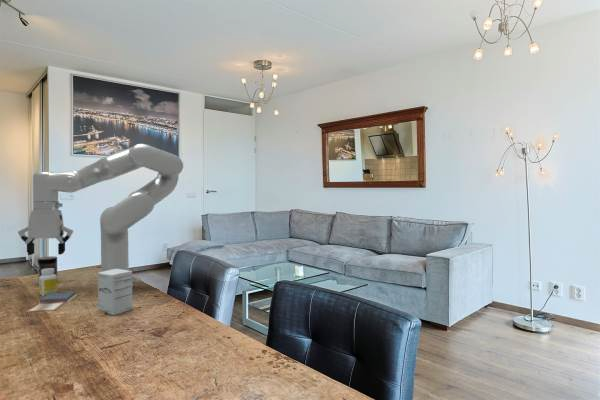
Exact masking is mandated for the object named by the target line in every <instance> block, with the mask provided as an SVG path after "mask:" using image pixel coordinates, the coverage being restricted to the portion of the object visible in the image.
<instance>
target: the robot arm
mask: <svg viewBox="0 0 600 400" xmlns="http://www.w3.org/2000/svg"><path fill="white" fill-rule="evenodd" d="M141 168H145V169H149V170H150V171H154V172H157V174H156V176H155V177H154V178H153V179H152V180H151V181H149V182H148V183H147V184H145V185H143V186H142V187H140V188H139V189H137V190H135V191H132V192H131V193H130V194H129V195H128V196H127V197H126V198H124V199H122V200H121V201H120V202H117V204H115V205H114V206H110V207H107V208H105V209H104V210H103V212H102V213H101V215H100V218H99V225H100V267H101V268H100V272H103V271H108V270H112V269H122V270H128V271H130V269H129V268H130V267H129V266H130V264H129V228H131V227H133V226H134V225H136V224H137V223H139V222H140V221H141V220H143V219H144V218H146V217H147V216H148V215H149V214H150V213H152V211H153V210H154V208H155V206H156V205H157V204H159V203H160V202H161V201H162V200H164V199H165V198H168V196H169V195H170V194H172V192H174V190H175V189H176V187H177V186H178V185H177V184H178V183H179V182H178V181H179V178H180V177H179V175H180V174H181V173H182V172H183V169H184V164H183V160H182V158H180V157H179V156H178V155H176V154H173V153H171V152H168V151H165V150H162V149H161V148H157V147H154V146H151V145H149V144H145V143H137V144H135V145H133V146H131V147H128V148H126V149H124V150H123V149H122V150H121V151H118V152H115V153H112V154H109V155H105V156H103V157H102V158H101V157H100V159H98V160H97V161H95V162H93V163H91V164H89V165H85V166H83V167H81V168H78V169H76V170H73V171H64V172H63V171H62V172H52V171H36V172H34V173H33V175H32V210H30V215H29V219H28V226H27V227H25V228H22V229H21V230H18V232H17V233H18V235H19V237H20V239H21V240H22V241H23V242H24V243H25V244H26V253H27V255H28V256H31V255H34V254H35V242H34V241H35V240H36V239H56V240H57V241H58V243H57V248H58V249H57V250H58V251H57V254H58V255H63V254H64V253H65V251H66V243H67V241H68V240H69V239H70V238H72V235H73V233H74V231H73V229H70V228H68V227H66V226H64V218H63V213H62V210H61V209H60V208H62V207H63V203H61V202H59V192H62V193H75V192H79V191H81V190H83V189H86V188H89V187H91V186H94V185H96V184H99V183H103V182H104V181H108V180H112V179H113V180H114V179H115V178H119V177H120V176H123V175H125V174H128V173H130V172H133V171H137V170H138V169H141ZM26 233H27V234H28V236H27V235H26ZM65 233H66V234H65ZM64 235H65V236H64ZM134 284H141V278H140V277H132V288H134ZM96 289H97V290H98V286H97V287H96Z"/></svg>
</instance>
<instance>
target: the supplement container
mask: <svg viewBox="0 0 600 400" xmlns="http://www.w3.org/2000/svg"><path fill="white" fill-rule="evenodd" d="M46 268H54V274H55V275H56V276H57V282H58V276H59V275H58V257H57V256H54V255H53V256H51V255H50V256H42V257H38V258H37V284H38V285H39V277H40V276H41V275H42V274H41V270H42V269H46Z"/></svg>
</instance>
